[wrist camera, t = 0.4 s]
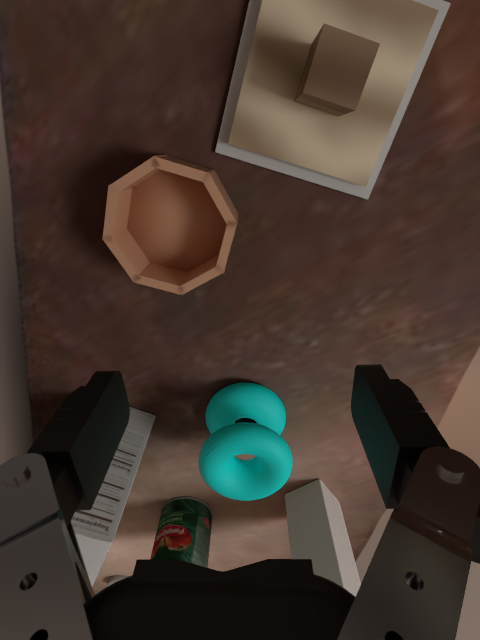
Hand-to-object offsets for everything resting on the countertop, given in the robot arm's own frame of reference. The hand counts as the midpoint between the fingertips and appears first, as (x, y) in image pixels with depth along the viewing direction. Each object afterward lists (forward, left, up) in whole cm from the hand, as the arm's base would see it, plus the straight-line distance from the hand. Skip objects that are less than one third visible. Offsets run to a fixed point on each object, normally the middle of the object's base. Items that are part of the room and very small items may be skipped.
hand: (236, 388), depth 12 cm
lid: (-14, +3, -25) cm, 29 cm away
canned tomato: (+44, +3, -26) cm, 51 cm away
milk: (+35, +20, -26) cm, 48 cm away
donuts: (+22, +6, -26) cm, 35 cm away
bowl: (+1, -7, -26) cm, 27 cm away
